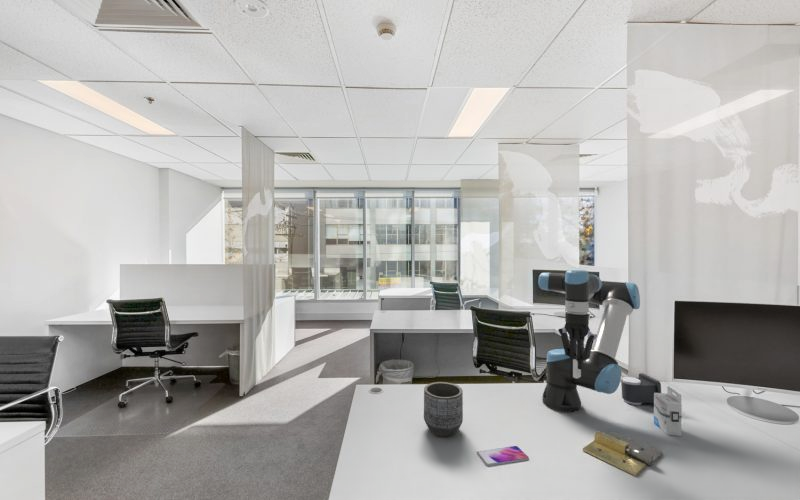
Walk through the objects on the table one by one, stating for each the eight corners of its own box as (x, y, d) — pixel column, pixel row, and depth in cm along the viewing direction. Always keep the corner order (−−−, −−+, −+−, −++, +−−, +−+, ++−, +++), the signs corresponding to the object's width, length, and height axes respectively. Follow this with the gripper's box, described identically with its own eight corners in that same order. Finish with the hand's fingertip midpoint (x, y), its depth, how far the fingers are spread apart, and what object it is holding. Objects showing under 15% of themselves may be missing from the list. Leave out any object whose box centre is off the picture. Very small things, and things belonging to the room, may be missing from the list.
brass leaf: (582, 450, 107) (582, 441, 107) (598, 439, 114) (598, 430, 114) (635, 476, 95) (635, 465, 95) (650, 462, 101) (650, 452, 101)
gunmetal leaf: (596, 443, 111) (596, 434, 111) (611, 433, 118) (611, 424, 118) (649, 467, 99) (649, 457, 99) (662, 454, 105) (662, 444, 105)
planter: (466, 424, 123) (466, 385, 123) (456, 445, 110) (457, 401, 110) (431, 416, 129) (431, 379, 129) (418, 435, 116) (418, 393, 116)
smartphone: (475, 451, 106) (516, 445, 110) (475, 454, 106) (516, 447, 110) (486, 465, 99) (529, 458, 103) (486, 467, 99) (530, 460, 103)
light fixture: (615, 398, 148) (614, 374, 148) (644, 396, 148) (642, 372, 148) (633, 409, 137) (632, 383, 137) (664, 407, 137) (662, 381, 137)
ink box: (653, 422, 125) (653, 384, 125) (667, 424, 124) (667, 385, 124) (666, 434, 117) (666, 393, 117) (682, 436, 116) (682, 394, 116)
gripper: (554, 310, 122) (554, 373, 122) (590, 316, 111) (590, 385, 111) (564, 308, 126) (564, 369, 126) (600, 314, 115) (600, 380, 115)
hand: (576, 377), depth 119 cm, fingers closed
